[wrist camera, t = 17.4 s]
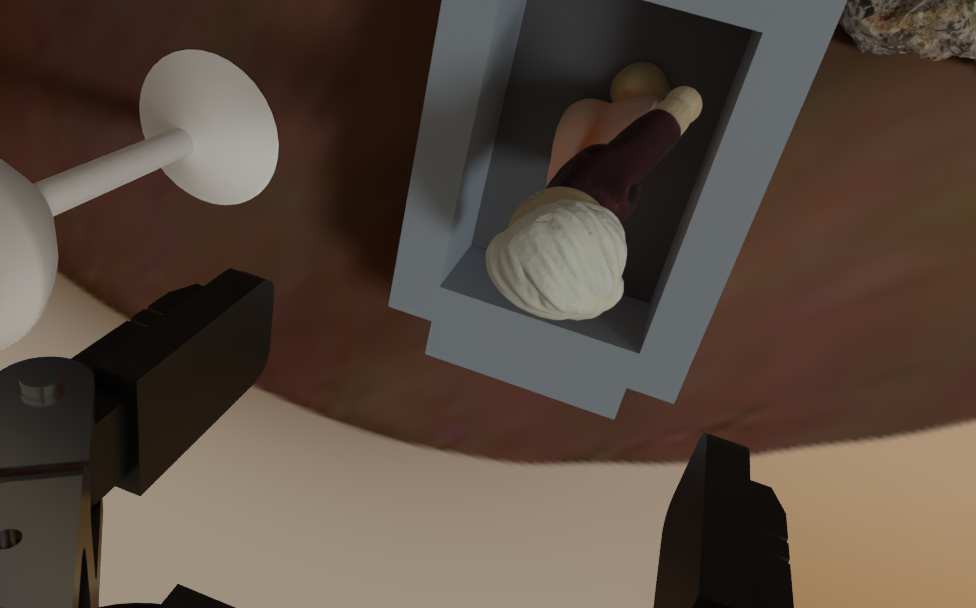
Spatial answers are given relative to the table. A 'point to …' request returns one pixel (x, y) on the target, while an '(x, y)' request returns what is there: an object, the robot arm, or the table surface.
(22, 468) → the robot arm
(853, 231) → the table surface
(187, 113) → the champagne flute
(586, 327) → the well block
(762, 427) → the table surface
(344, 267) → the table surface
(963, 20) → the mineral rock
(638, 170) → the grandmother figurine
